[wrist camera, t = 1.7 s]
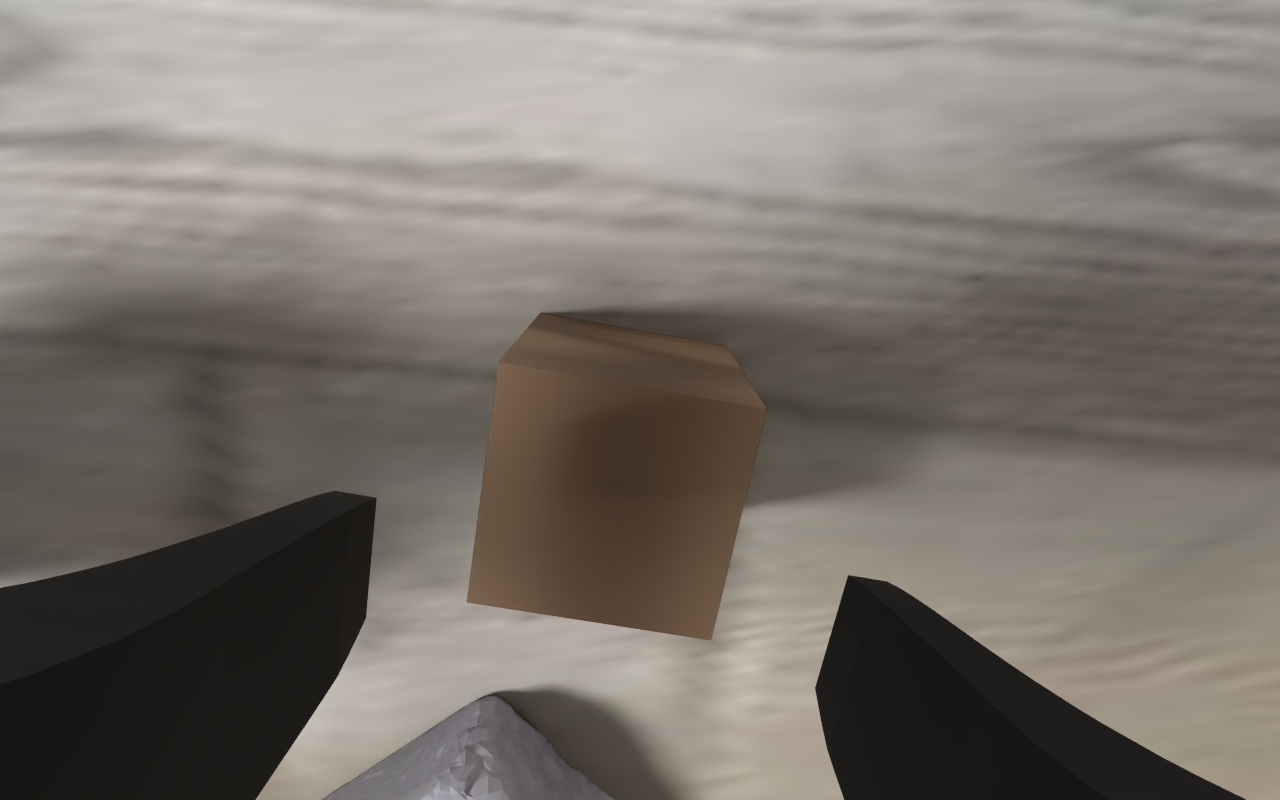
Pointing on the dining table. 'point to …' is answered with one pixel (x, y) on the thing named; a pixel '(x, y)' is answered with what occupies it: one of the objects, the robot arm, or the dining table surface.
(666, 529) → the walnut block
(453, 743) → the grey angular piece
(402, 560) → the dining table surface
